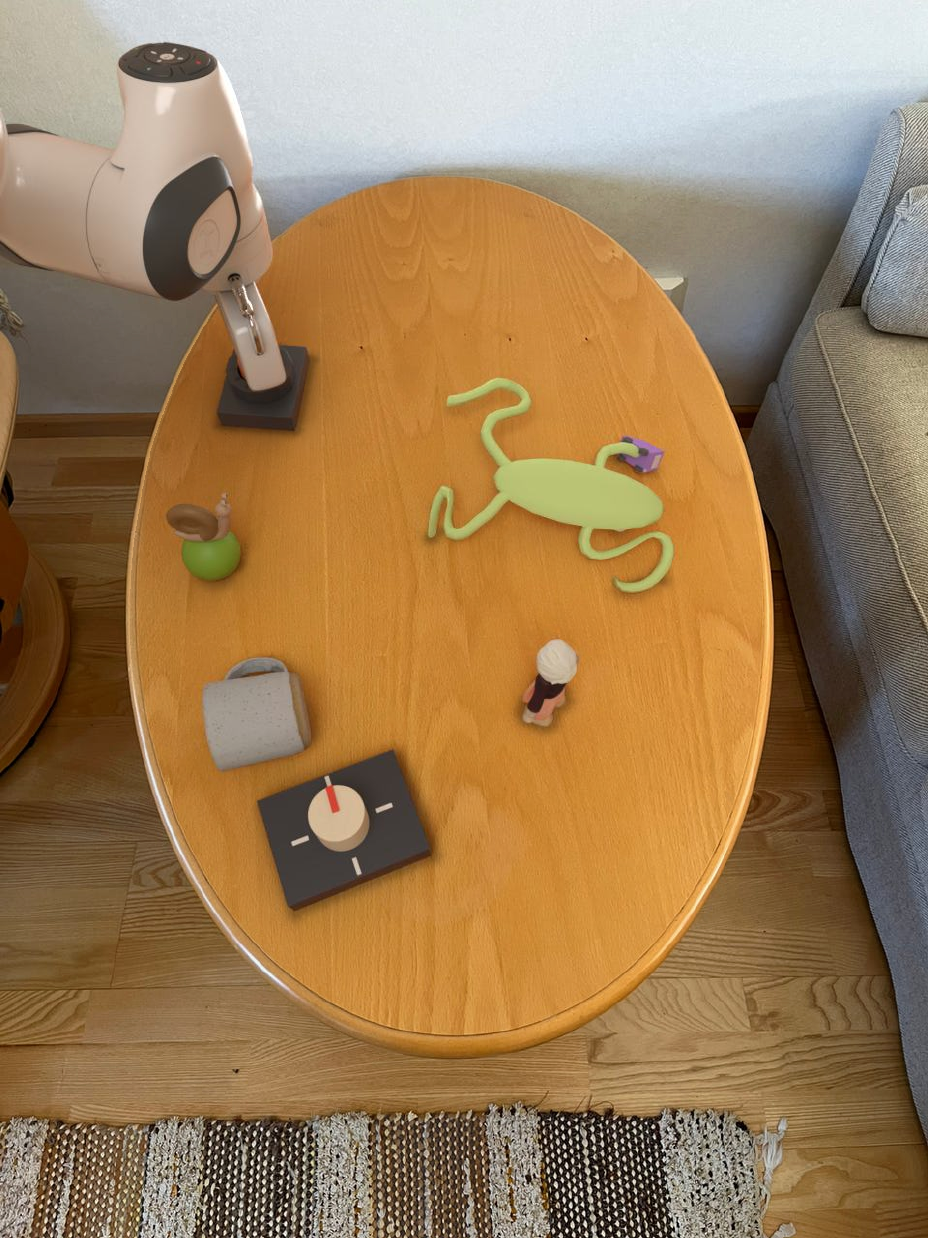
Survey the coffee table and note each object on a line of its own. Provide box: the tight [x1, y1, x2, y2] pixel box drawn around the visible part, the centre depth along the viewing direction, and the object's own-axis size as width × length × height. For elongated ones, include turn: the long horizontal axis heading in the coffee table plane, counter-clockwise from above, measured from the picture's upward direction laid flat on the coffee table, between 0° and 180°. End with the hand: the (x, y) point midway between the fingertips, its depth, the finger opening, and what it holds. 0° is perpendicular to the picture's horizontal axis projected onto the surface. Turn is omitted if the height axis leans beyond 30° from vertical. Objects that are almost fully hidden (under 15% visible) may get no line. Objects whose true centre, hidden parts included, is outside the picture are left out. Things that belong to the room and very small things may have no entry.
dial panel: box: [256, 749, 432, 912], centre depth 70 cm, size 12×9×3 cm
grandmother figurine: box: [521, 638, 580, 728], centre depth 71 cm, size 8×4×13 cm, turn 155°
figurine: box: [427, 377, 675, 594], centre depth 84 cm, size 18×27×6 cm
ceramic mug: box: [201, 656, 312, 772], centre depth 72 cm, size 11×8×8 cm
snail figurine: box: [165, 492, 242, 582], centre depth 77 cm, size 5×6×12 cm
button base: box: [216, 344, 310, 432], centre depth 91 cm, size 10×8×4 cm
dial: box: [308, 785, 369, 852], centre depth 67 cm, size 4×4×4 cm
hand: (252, 354), depth 87 cm, fingers closed
